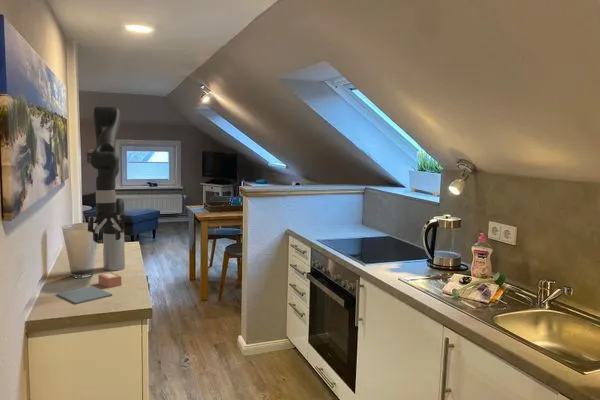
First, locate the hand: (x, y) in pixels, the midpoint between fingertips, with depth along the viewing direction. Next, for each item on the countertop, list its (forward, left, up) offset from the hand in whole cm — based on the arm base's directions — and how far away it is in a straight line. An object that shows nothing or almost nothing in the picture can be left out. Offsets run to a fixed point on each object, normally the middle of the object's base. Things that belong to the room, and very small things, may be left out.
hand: (107, 241), depth 190 cm
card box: (-2, +2, -19) cm, 19 cm away
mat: (+5, -12, -19) cm, 23 cm away
